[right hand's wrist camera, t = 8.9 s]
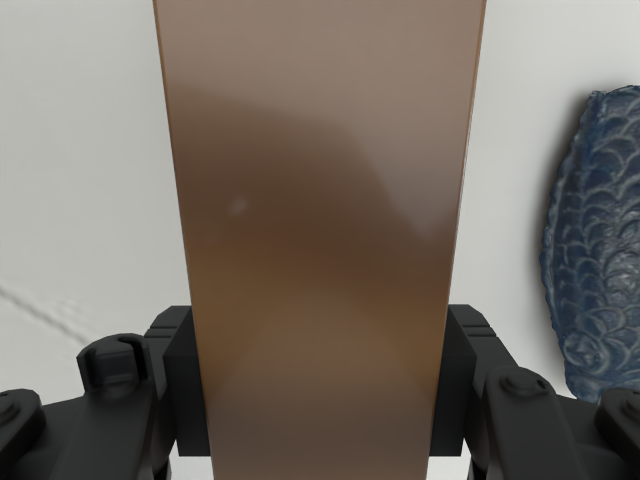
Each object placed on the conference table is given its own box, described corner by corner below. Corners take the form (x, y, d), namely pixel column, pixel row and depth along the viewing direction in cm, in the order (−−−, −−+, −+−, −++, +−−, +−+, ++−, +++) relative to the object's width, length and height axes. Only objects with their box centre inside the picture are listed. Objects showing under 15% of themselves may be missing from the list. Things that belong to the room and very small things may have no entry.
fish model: (525, 394, 30) (563, 450, 25) (535, 97, 23) (592, 99, 18) (616, 382, 30) (673, 437, 25) (656, 79, 23) (745, 76, 18)
